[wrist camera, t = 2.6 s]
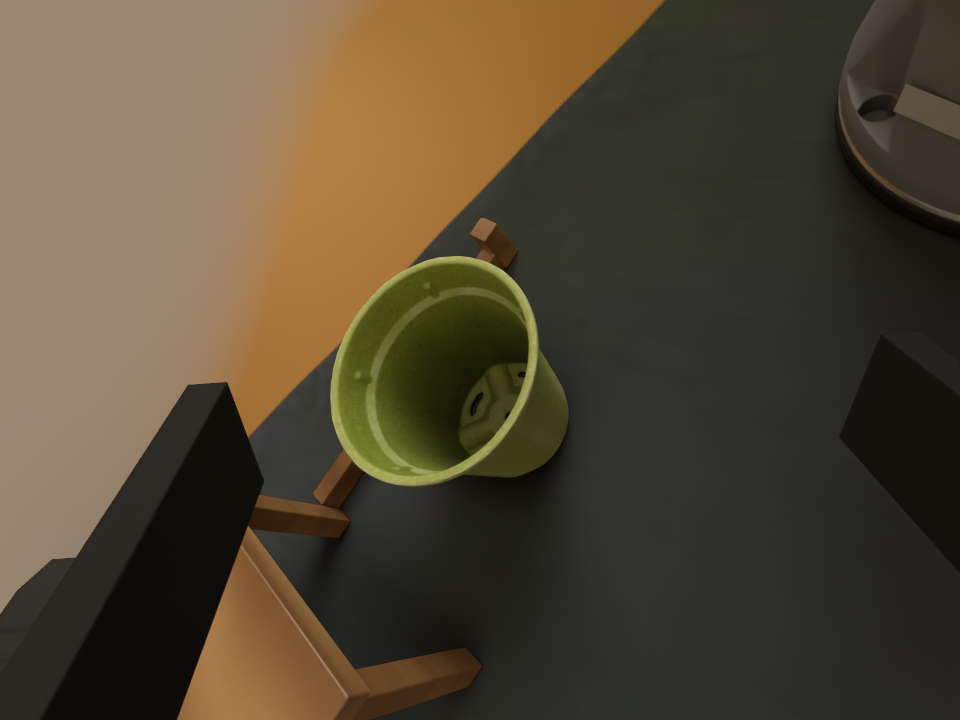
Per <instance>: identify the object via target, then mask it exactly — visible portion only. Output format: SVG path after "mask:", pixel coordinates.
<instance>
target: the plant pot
mask: <svg viewBox="0 0 960 720" xmlns="http://www.w3.org/2000/svg"><path fill="white" fill-rule="evenodd" d="M521 372H526V376H525V378H523V377H519V375H518V374H520V373H521ZM481 392H483V394H484V396H483V398H482V400H481V401H480V403H479V405H478V407H477V410H476V413H475V415H474V416H471V414H470V411H471V407H472V404H473V402H474V400H475V398H476V397H477V396H478V395H479V393H481ZM330 397H331V411H332V420H333V423H334V427H335V430H336V433H337V436H338V438H339V441H340V443H341V445H342V446H343V448H344V450H345V451H346V453H347V454H348V456H349V457H350V458H351V459H352V461H353V462H354V463H355V464H356V465H357V466H358V467H359V468H361V469H362V470H363V471H365V472H366V473H368V474H369V475H371V476H372V477H374V478H377V479H379V480H381V481H383V482H386V483H390V484H394V485H400V486H410V487H419V486H429V485H434V484H439V483H443V482H446V481H449V480H451V479H454V478H456V477H459V476H461V475H479V476H491V477H506V478H511V477H517V476H520V475H523V474H526V473H528V472H530V471H533V470H535V469H536V468H538V467H540V466H542V465H544V464H545V463H546V462H547V461H548V460H549V459H550V458H551V457H552V456H553V455H554V454H555V452H556V451H557V449H558V448H559V446H560V444H561V443H562V441H563V439H564V436H565V433H566V430H567V425H568V419H569V410H568V404H567V400H566V396H565V393H564V390H563V388H562V386H561V384H560V382H559V380H558V379H557V377H556V375H555V374H554V372H553V371H552V369H551V367H550V366H549V364H548V362H547V361H546V359H545V357H544V356H543V354H542V352H541V351H540V349H539V336H538V330H537V324H536V320H535V317H534V314H533V311H532V308H531V306H530V304H529V302H528V300H527V298H526V296H525V295H524V293H523V292H522V290H521V289H520V287H519V286H518V285H517V284H516V282H515V281H514V280H513V279H512V278H511V277H510V276H509V275H507V274H506V273H505V272H504V271H502V270H501V269H499V268H498V267H496V266H494V265H492V264H490V263H488V262H485V261H482V260H478V259H474V258H470V257H461V256H453V257H441V258H435V259H431V260H427V261H424V262H422V263H420V264H417V265H415V266H413V267H411V268H408V269H406V270H404V271H402V272H401V273H399V274H398V275H396V276H395V277H393V278H392V279H391V280H389V281H388V282H386V283H385V284H384V285H383V286H382V287H381V288H380V289H378V291H377V292H376V293H375V294H374V295H372V296H371V298H370V299H369V300H368V301H367V302H366V304H365V305H364V306H363V307H362V308H361V310H360V311H359V313H358V314H357V316H356V317H355V318H354V320H353V321H352V324H351V326H350V328H349V329H348V331H347V333H346V335H345V337H344V339H343V341H342V343H341V346H340V348H339V351H338V353H337V357H336V360H335V364H334V368H333V376H332V381H331V396H330ZM508 412H511V413H510V415H509V416H508V418H507V420H506V418H505V416H506V414H507V413H508Z"/></svg>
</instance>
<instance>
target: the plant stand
mask: <svg viewBox="0 0 960 720" xmlns="http://www.w3.org/2000/svg"><path fill="white" fill-rule="evenodd" d="M470 236H471V237H472V238H473V239H474V240H475V241H476V242H477V244H478V245H479V246H480V247H481V248H482V251H481V252H480V254H479V255H478V257H477V258H476V259H478V260H482V261H485V262H488V263H490V264H492V265H494V266H496V267H498V268H499V269H501V270H502V271H503V270H504V269H505V267H506V268H507V267H508V265H509V264H510V262H511V261H512V259H513V258H514V257H515V255H516V254H517V252H518V251H517V249H516V248H515V247H514V246H513V244H512V243H511V242H510V240H509V239H508V238H507V237H506V235H505V234H504V233H503V231H502V230H501V229H500V227H499V226H498V225H497V224H496V223H494V222H491V221H489V220H487V219H485V218H483V217H482V218H481V219H480V220H479V222H478V223H477V225H476V226H475V227H474V229H473V230H472V232H471V233H470ZM363 472H364V471H363V470H362V469H361V468H359V467H358V466H357V465H356V464H355V463H354V462H353V461H352V459H351V458H350V457H349V456H348V454H347V453H346V451H345V450H343V451H342V453H341V454H340V455H339V457H338V458H337V460H336V461H335V463H334V464H333V466H332V467H331V468H330V470H329V471H328V473H327V474H326V476H325V477H324V479H323V480H322V481H321V483H320V484H319V486H318V487H317V489H316V490H315V491H314V493H313V495H314V496H315V497H316V498H317V500H318V501H319V502H320V503H321V504H322V505H328V506H334V507H340V506H341V504H342V503H343V501H344V500H345V498H346V497H347V496H348V494H349V493H350V491H351V490H352V488H353V487H354V485H355V484H356V483H357V481H358V480H359V478H360V477H361V475H362V474H363ZM349 523H350V520H349V519H348V518H347V517H346V516H345V514H344V513H343V512H342V511H341V510H340V509H339V508H333V507H327V506H321V505H315V504H309V503H304V502H298V501H292V500H286V499H280V498H274V497H269V496H263V495H259V497H258V500H257V502H256V505H255V508H254V511H253V513H252V516H251V519H250V522H249V524H248V527H247V530H246V533H245V535H244V538H243V541H242V543H241V546H240V549H239V552H238V554H237V557H236V560H235V563H234V565H233V568H232V571H231V574H230V576H229V579H228V582H227V584H226V587H225V590H224V593H223V595H222V598H221V601H220V604H219V606H218V609H217V612H216V615H215V617H214V620H213V623H212V626H211V628H210V631H209V634H208V636H207V639H206V642H205V645H204V647H203V650H202V653H201V656H200V658H199V661H198V664H197V667H196V669H195V672H194V675H193V677H192V680H191V683H190V686H189V688H188V691H187V694H186V697H185V699H184V702H183V705H182V708H181V710H180V713H179V716H178V718H177V720H372V719H375V718H378V717H381V716H384V715H387V714H390V713H393V712H396V711H399V710H402V709H405V708H408V707H410V706H413V705H416V704H419V703H422V702H425V701H428V700H431V699H434V698H437V697H440V696H443V695H446V694H449V693H452V692H455V691H458V690H461V689H464V688H467V687H469V685H470V684H471V682H472V681H473V679H474V678H475V676H476V675H477V673H478V672H479V670H480V669H481V667H482V665H481V664H480V663H479V662H478V660H477V659H476V658H475V657H474V656H473V655H472V654H471V653H470V652H469V651H468V649H467V648H466V647H463V648H458V649H453V650H448V651H443V652H438V653H433V654H429V655H424V656H419V657H414V658H409V659H404V660H399V661H394V662H390V663H385V664H380V665H375V666H370V667H365V668H360V669H356V670H355V669H354V668H353V667H352V665H351V664H350V663H349V661H348V660H347V658H346V657H345V656H344V654H343V653H342V652H341V650H340V649H339V648H338V646H337V645H336V644H335V642H334V641H333V640H332V638H331V637H330V636H329V634H328V633H327V631H326V630H325V629H324V627H323V626H322V625H321V623H320V622H319V621H318V619H317V618H316V617H315V615H314V614H313V613H312V611H311V610H310V609H309V607H308V606H307V604H306V603H305V602H304V600H303V599H302V598H301V596H300V595H299V594H298V592H297V591H296V590H295V588H294V587H293V586H292V584H291V583H290V581H289V580H288V579H287V577H286V576H285V575H284V573H283V572H282V571H281V569H280V568H279V567H278V565H277V564H276V563H275V561H274V560H273V559H272V557H271V556H270V554H269V553H268V552H267V550H266V549H265V548H264V546H263V545H262V544H261V542H260V541H259V540H258V538H257V537H256V536H255V534H254V533H253V532H252V530H251V529H255V530H265V531H274V532H284V533H294V534H303V535H313V536H323V537H332V538H339V537H340V536H341V534H342V533H343V531H344V530H345V528H346V527H347V525H348V524H349Z"/></svg>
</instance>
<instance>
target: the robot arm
mask: <svg viewBox="0 0 960 720" xmlns="http://www.w3.org/2000/svg"><path fill="white" fill-rule="evenodd" d="M836 127H837V134H838V138H839V142H840V145H841V148H842V151H843V153H844V156H845V158H846V159H847V161H848V163H849V165H850V166H851V168H852V170H853V171H854V172H855V174H856V175H857V176H858V177H859V179H860V180H861V181H862V182H863V183H864V184H865V185H866V186H867V187H868V188H869V189H870V190H871V191H872V192H873V193H874V194H875V195H877V196H878V197H879V198H880V199H881V200H883V201H884V202H885V203H887V204H888V205H890V206H891V207H893V208H894V209H896V210H898V211H899V212H901V213H903V214H905V215H907V216H908V217H910V218H912V219H914V220H916V221H918V222H921V223H923V224H926V225H928V226H930V227H933V228H935V229H938V230H941V231H944V232H947V233H950V234H953V235H957V236H960V0H875V1H874V3H873V5H872V7H871V8H870V10H869V12H868V13H867V15H866V17H865V18H864V20H863V22H862V24H861V25H860V27H859V29H858V31H857V33H856V35H855V37H854V39H853V42H852V44H851V46H850V49H849V52H848V55H847V58H846V61H845V64H844V67H843V70H842V73H841V78H840V83H839V89H838V97H837V105H836ZM839 438H840V439H841V440H842V441H843V442H844V443H845V444H846V445H847V447H848V448H849V449H850V450H851V451H852V452H853V453H854V454H855V456H856V457H857V458H858V459H859V460H860V461H861V462H862V463H863V465H864V466H865V467H866V468H867V469H868V470H869V471H870V472H871V474H872V475H873V476H874V477H875V478H876V479H877V480H878V481H879V483H880V484H881V485H882V486H883V487H884V488H885V489H886V490H887V492H888V493H889V494H890V495H891V496H892V497H893V498H894V499H895V501H896V502H897V503H898V504H899V505H900V506H901V507H902V508H903V509H904V511H905V512H906V513H907V514H908V515H909V516H910V517H911V518H912V520H913V521H914V522H915V523H916V524H917V525H918V526H919V527H920V529H921V530H922V531H923V532H924V533H925V534H926V535H927V536H928V538H929V539H930V540H931V541H932V542H933V543H934V544H935V545H936V547H937V548H938V549H939V550H940V551H941V552H942V553H943V554H944V556H945V557H946V558H947V559H948V560H949V561H950V562H951V563H952V565H953V566H954V567H955V568H956V569H957V570H958V571H959V572H960V361H959V360H958V359H956V358H955V357H954V356H952V355H951V354H949V353H948V352H947V351H945V350H944V349H942V348H941V347H940V346H938V345H937V344H935V343H934V342H933V341H931V340H930V339H928V338H927V337H926V336H924V335H923V334H921V333H920V332H919V331H916V332H903V333H889V334H881V335H880V338H879V340H878V343H877V345H876V348H875V350H874V353H873V355H872V358H871V360H870V362H869V365H868V367H867V370H866V372H865V375H864V377H863V380H862V382H861V385H860V387H859V389H858V392H857V394H856V397H855V399H854V402H853V404H852V407H851V409H850V411H849V414H848V416H847V419H846V421H845V424H844V426H843V429H842V431H841V434H840V436H839ZM263 483H264V479H263V477H262V474H261V471H260V469H259V466H258V463H257V461H256V458H255V455H254V453H253V450H252V447H251V445H250V442H249V439H248V437H247V434H246V431H245V429H244V426H243V423H242V421H241V418H240V415H239V413H238V410H237V407H236V405H235V402H234V399H233V397H232V394H231V392H230V389H229V386H228V383H227V382H223V383H209V384H196V385H188V386H187V387H186V389H185V391H184V392H183V394H182V395H181V397H180V398H179V400H178V401H177V403H176V404H175V406H174V407H173V409H172V411H171V412H170V414H169V415H168V417H167V418H166V420H165V421H164V423H163V424H162V426H161V428H160V429H159V431H158V432H157V434H156V435H155V437H154V438H153V440H152V441H151V443H150V445H149V446H148V447H147V449H146V451H145V452H144V454H143V455H142V457H141V458H140V460H139V461H138V463H137V464H136V466H135V468H134V469H133V471H132V472H131V474H130V475H129V477H128V478H127V480H126V481H125V483H124V485H123V486H122V487H121V489H120V491H119V492H118V494H117V495H116V497H115V498H114V500H113V501H112V503H111V504H110V506H109V507H108V509H107V511H106V512H105V514H104V515H103V517H102V518H101V520H100V522H99V523H98V525H97V526H96V527H95V529H94V531H93V532H92V534H91V535H90V537H89V538H88V540H87V541H86V543H85V544H84V546H83V548H82V549H81V551H80V552H79V554H78V555H77V557H76V558H64V559H52V560H51V561H50V562H49V563H48V564H46V565H45V566H44V567H43V568H42V569H41V570H40V571H39V572H37V573H36V574H35V575H34V576H33V577H32V578H31V579H30V580H28V581H27V582H26V583H25V584H24V585H23V586H22V587H21V588H20V589H18V590H17V592H16V593H15V594H14V596H13V597H12V599H11V600H10V602H9V603H8V604H7V606H6V607H5V608H4V610H3V611H2V613H1V614H0V720H177V718H178V716H179V713H180V710H181V708H182V705H183V702H184V699H185V697H186V694H187V691H188V688H189V686H190V683H191V680H192V677H193V675H194V672H195V669H196V667H197V664H198V661H199V658H200V656H201V653H202V650H203V647H204V645H205V642H206V639H207V636H208V634H209V631H210V628H211V626H212V623H213V620H214V617H215V615H216V612H217V609H218V606H219V604H220V601H221V598H222V595H223V593H224V590H225V587H226V584H227V582H228V579H229V576H230V574H231V571H232V568H233V565H234V563H235V560H236V557H237V554H238V552H239V549H240V546H241V543H242V541H243V538H244V535H245V533H246V530H247V527H248V524H249V522H250V519H251V516H252V513H253V511H254V508H255V505H256V502H257V500H258V497H259V494H260V492H261V489H262V486H263Z"/></svg>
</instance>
